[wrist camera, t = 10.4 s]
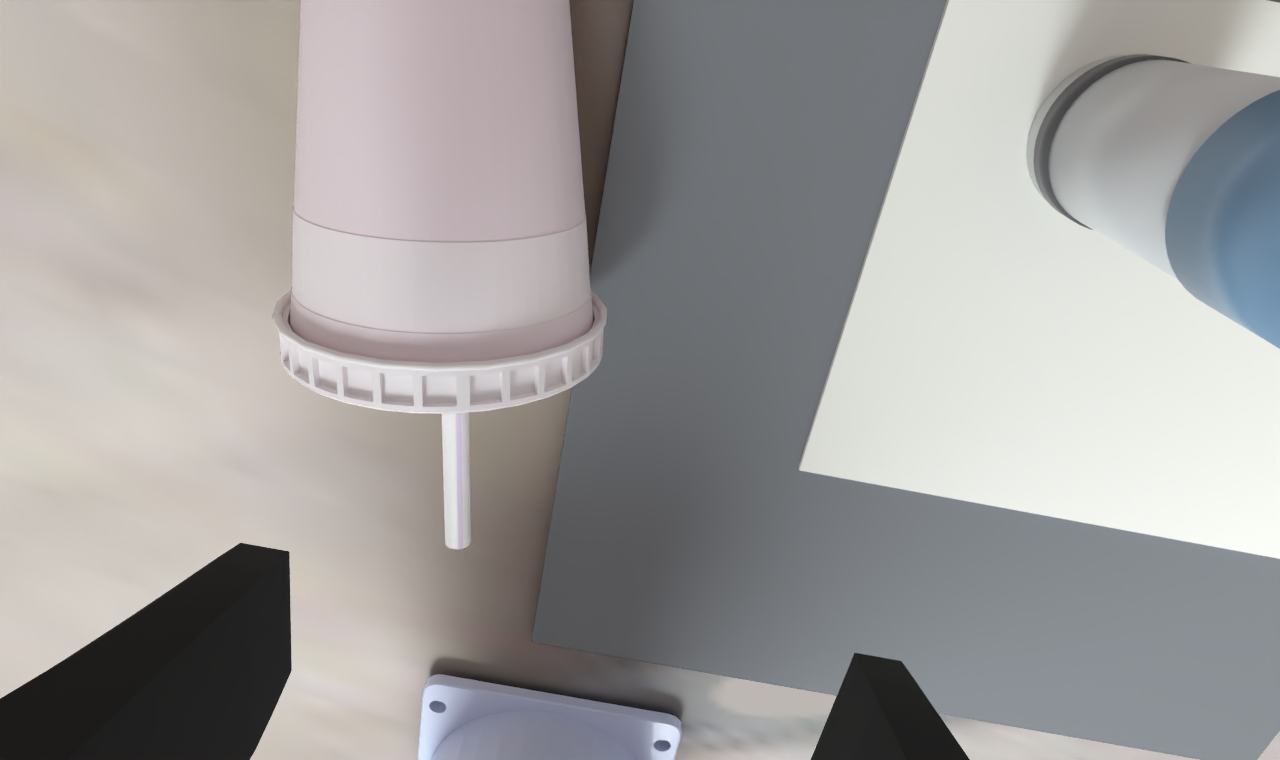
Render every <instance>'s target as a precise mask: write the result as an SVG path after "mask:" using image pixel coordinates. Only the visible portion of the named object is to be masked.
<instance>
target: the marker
mask: <svg viewBox="0 0 1280 760" xmlns="http://www.w3.org/2000/svg"><path fill="white" fill-rule="evenodd" d="M1026 157H1027V167H1028V171H1029V175H1030V178H1031V180H1032V183H1033V185H1034V186H1035V188H1036V190H1037V191H1038V193H1039V194H1040V195H1041V196H1042V197H1043V199H1045V200H1046V201H1047V202H1048V203H1049V204H1050V205H1051V206H1052V207H1053V208H1054V209H1055V210H1056V211H1058V212H1059V213H1061V214H1062V215H1064V216H1065V217H1067V218H1069V219H1070V220H1072V221H1074V222H1075V223H1077V224H1079V225H1081V226H1083V227H1086V228H1088V229H1091V230H1094V231H1096V232H1098V233H1099V234H1101V235H1103V236H1105V237H1106V238H1108V239H1110V240H1111V241H1113V242H1115V243H1116V244H1118V245H1120V246H1122V247H1123V248H1125V249H1127V250H1128V251H1130V252H1132V253H1134V254H1135V255H1137V256H1139V257H1140V258H1142V259H1144V260H1145V261H1147V262H1149V263H1151V264H1152V265H1154V266H1156V267H1157V268H1159V269H1161V270H1162V271H1164V272H1166V273H1168V274H1169V275H1171V276H1173V277H1174V278H1176V279H1178V280H1179V282H1180V283H1181V284H1182V285H1183V286H1184V288H1185V289H1186V290H1187V291H1188V292H1189V293H1190V294H1192V295H1193V296H1194V297H1195V298H1196V299H1198V300H1200V301H1201V302H1203V303H1205V304H1206V305H1208V306H1209V307H1211V308H1213V309H1214V310H1216V311H1218V312H1219V313H1221V314H1223V315H1224V316H1226V317H1228V318H1229V319H1231V320H1233V321H1234V322H1236V323H1238V324H1239V325H1241V326H1243V327H1244V328H1246V329H1248V330H1249V331H1251V332H1253V333H1254V334H1256V335H1258V336H1259V337H1261V338H1262V339H1264V340H1266V341H1267V342H1269V343H1271V344H1272V345H1274V346H1276V347H1277V348H1279V349H1280V77H1275V76H1269V75H1262V74H1256V73H1249V72H1243V71H1236V70H1229V69H1223V68H1216V67H1210V66H1203V65H1197V64H1191V63H1189V62H1186V61H1183V60H1180V59H1176V58H1171V57H1164V56H1157V55H1149V54H1134V55H1119V56H1113V57H1108V58H1104V59H1101V60H1098V61H1095V62H1093V63H1090V64H1088V65H1086V66H1084V67H1082V68H1081V69H1079V70H1077V71H1076V72H1074V73H1073V74H1071V75H1070V76H1069V77H1067V78H1066V79H1065V80H1064V81H1063V82H1061V83H1060V84H1059V85H1058V86H1057V87H1056V88H1055V89H1054V90H1053V91H1052V93H1051V94H1050V95H1049V96H1048V97H1047V99H1046V100H1045V101H1044V103H1043V104H1042V106H1041V108H1040V109H1039V111H1038V113H1037V115H1036V117H1035V119H1034V121H1033V124H1032V126H1031V130H1030V133H1029V137H1028V142H1027V153H1026Z"/></svg>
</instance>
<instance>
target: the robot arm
mask: <svg viewBox="0 0 1280 760" xmlns="http://www.w3.org/2000/svg"><path fill="white" fill-rule="evenodd" d="M290 673H291V622H290V569H289V552H288V551H283V550H277V549H271V548H266V547H260V546H255V545H249V544H243V543H240V544H238V545H237V546H235V547H234V548H232V549H230V550H229V551H227V552H226V553H224V554H223V555H221V556H220V557H218V558H217V559H215V560H214V561H212V562H211V563H209V564H208V565H206V566H205V567H203V568H202V569H200V570H199V571H197V572H196V573H194V574H193V575H191V576H190V577H189V578H187V579H186V580H184V581H183V582H181V583H180V584H178V585H177V586H175V587H174V588H172V589H171V590H169V591H168V592H167V593H165V594H164V595H162V596H161V597H159V598H158V599H156V600H155V601H153V602H152V603H150V604H149V605H147V606H146V607H144V608H143V609H141V610H140V611H138V612H137V613H135V614H134V615H132V616H131V617H129V618H128V619H126V620H125V621H123V622H122V623H120V624H119V625H117V626H116V627H114V628H113V629H111V630H109V631H108V632H106V633H105V634H103V635H102V636H100V637H99V638H97V639H96V640H94V641H93V642H91V643H90V644H88V645H86V646H85V647H83V648H82V649H80V650H79V651H77V652H76V653H74V654H73V655H71V656H70V657H68V658H66V659H65V660H63V661H62V662H60V663H59V664H57V665H55V666H54V667H52V668H51V669H49V670H47V671H46V672H44V673H42V674H41V675H39V676H37V677H36V678H34V679H32V680H31V681H29V682H27V683H26V684H24V685H22V686H21V687H19V688H17V689H16V690H14V691H12V692H11V693H9V694H7V695H6V696H4V697H2V698H1V699H0V760H250V758H251V756H252V755H253V753H254V751H255V749H256V747H257V745H258V743H259V741H260V739H261V737H262V735H263V732H264V730H265V728H266V726H267V724H268V722H269V720H270V718H271V715H272V713H273V711H274V709H275V707H276V704H277V702H278V700H279V698H280V695H281V693H282V691H283V688H284V686H285V684H286V682H287V679H288V677H289V675H290ZM438 701H440V702H443V703H440V702H438ZM680 739H681V722H680V720H679V719H678V718H677V717H675V716H674V715H671V714H667V713H661V712H655V711H650V710H644V709H638V708H632V707H627V706H621V705H615V704H609V703H604V702H598V701H592V700H586V699H581V698H575V697H569V696H563V695H558V694H552V693H546V692H540V691H535V690H529V689H523V688H517V687H512V686H506V685H500V684H494V683H489V682H483V681H477V680H471V679H466V678H460V677H454V676H448V675H439V674H437V675H433V676H431V677H430V678H428V679H427V682H426V684H425V687H424V690H423V697H422V709H421V721H420V733H419V746H418V758H417V760H674V759H675V756H676V752H677V749H678V746H679V742H680ZM661 740H666V741H661ZM811 760H970V759H969V758H968V757H967V755H966V754H965V752H964V751H963V749H962V748H961V746H960V745H959V744H958V742H957V741H956V739H955V738H954V736H953V735H952V734H951V732H950V731H949V729H948V728H947V726H946V725H945V723H944V722H943V720H942V719H941V717H940V716H939V715H938V713H937V712H936V710H935V709H934V707H933V706H932V704H931V703H930V701H929V700H928V698H927V697H926V695H925V694H924V693H923V691H922V690H921V688H920V687H919V685H918V684H917V682H916V681H915V679H914V678H913V677H912V675H911V674H910V672H909V671H908V669H907V668H906V667H905V665H904V664H903V662H902V661H899V660H893V659H888V658H882V657H877V656H871V655H865V654H860V653H854V655H853V658H852V660H851V663H850V665H849V667H848V670H847V672H846V675H845V677H844V680H843V682H842V685H841V687H840V690H839V692H838V695H837V697H836V699H835V702H834V704H833V707H832V709H831V712H830V714H829V717H828V719H827V722H826V724H825V726H824V729H823V731H822V734H821V736H820V739H819V741H818V744H817V746H816V749H815V751H814V753H813V756H812V758H811Z"/></svg>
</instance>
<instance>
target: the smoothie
mask: <svg viewBox="0 0 1280 760" xmlns="http://www.w3.org/2000/svg"><path fill="white" fill-rule="evenodd" d="M272 319H273V321H274V323H275V325H276V327H277V329H278V332H279V341H280V356H281V361H282V365H283V367H284V368H285V370H286V371H287V373H288V374H289V375H290V376H291V377H292V378H294V379H295V380H296V381H297V382H299V383H300V384H301V385H303V386H305V387H307V388H309V389H311V390H313V391H315V392H316V393H318V394H320V395H323V396H326V397H329V398H332V399H335V400H338V401H341V402H344V403H347V404H352V405H357V406H362V407H367V408H372V409H377V410H386V411H396V412H406V413H434V414H442V447H443V483H444V520H445V544H446V546H447V547H449V548H451V549H463V548H466V547H468V546H469V545H470V543H471V503H470V424H469V412H480V411H489V410H495V409H501V408H507V407H514V406H519V405H523V404H526V403H530V402H534V401H538V400H541V399H545V398H548V397H551V396H553V395H555V394H558V393H560V392H563V391H565V390H568V389H570V388H571V387H573V386H575V385H576V384H578V383H579V382H581V381H582V380H584V379H586V378H587V377H588V376H589V375H590V374H591V373H592V372H593V371H594V370H595V369H596V368H597V367H598V365H599V363H600V361H601V359H602V352H603V331H604V326H605V325H606V321H607V308H606V307H605V305H604V304H603V303H602V301H601V300H600V299H599V297H598V296H597V295H596V294H594V293H593V292H591V288H590V276H589V258H588V241H587V223H586V213H585V204H584V191H583V177H582V164H581V150H580V137H579V124H578V110H577V97H576V84H575V70H574V57H573V44H572V30H571V17H570V3H569V0H301V5H300V35H299V66H298V96H297V126H296V156H295V187H294V206H293V241H292V287H291V291H290V292H288V293H287V294H286V295H285V296H283V297H282V298H281V299H280V300H278V301H277V304H276V307H275V309H274V312H273V315H272Z"/></svg>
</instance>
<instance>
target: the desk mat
mask: <svg viewBox="0 0 1280 760" xmlns="http://www.w3.org/2000/svg"><path fill="white" fill-rule="evenodd" d="M946 1H947V0H634V3H633V9H632V16H631V22H630V28H629V34H628V41H627V47H626V53H625V59H624V66H623V72H622V78H621V84H620V91H619V97H618V103H617V109H616V116H615V122H614V128H613V135H612V141H611V147H610V153H609V160H608V166H607V172H606V178H605V185H604V191H603V197H602V203H601V210H600V216H599V222H598V228H597V235H596V241H595V247H594V253H593V260H592V266H591V272H590V288H591V292H593V293H594V294H596V295H597V296H598V297H599V299H600V300H601V301H602V303H603V304H604V305H605V307H606V308H607V321H606V325H605V326H604V331H603V352H602V359H601V361H600V363H599V365H598V367H597V368H596V369H595V370H594V371H593V372H592V373H591V374H590V375H589V376H588V377H587V378H586V379H584V380H582V381H581V382H579V383H578V384H576V385H575V386H573V387H572V391H571V398H570V404H569V410H568V416H567V423H566V429H565V435H564V441H563V448H562V454H561V460H560V466H559V473H558V479H557V485H556V491H555V498H554V504H553V510H552V516H551V523H550V529H549V535H548V542H547V548H546V554H545V560H544V567H543V573H542V579H541V585H540V592H539V598H538V604H537V610H536V617H535V623H534V629H533V635H532V642H534V643H540V644H546V645H551V646H557V647H563V648H568V649H574V650H580V651H586V652H591V653H597V654H603V655H608V656H614V657H620V658H625V659H631V660H637V661H642V662H648V663H654V664H660V665H665V666H671V667H677V668H682V669H688V670H694V671H699V672H705V673H711V674H716V675H722V676H728V677H734V678H739V679H745V680H751V681H756V682H762V683H768V684H774V685H779V686H785V687H790V688H796V689H802V690H808V691H813V692H819V693H825V694H831V695H836V696H837V695H838V692H839V690H840V687H841V685H842V682H843V680H844V677H845V675H846V672H847V670H848V667H849V665H850V663H851V660H852V658H853V655H854V653H860V654H865V655H871V656H877V657H882V658H888V659H893V660H899V661H902V662H903V664H904V665H905V667H906V668H907V669H908V671H909V672H910V674H911V675H912V677H913V678H914V679H915V681H916V682H917V684H918V685H919V687H920V688H921V690H922V691H923V693H924V694H925V695H926V697H927V698H928V700H929V701H930V703H931V704H932V706H933V707H934V709H935V710H936V712H937V713H938V714H944V715H950V716H955V717H961V718H967V719H973V720H978V721H984V722H990V723H995V724H1001V725H1007V726H1012V727H1018V728H1024V729H1029V730H1035V731H1041V732H1047V733H1052V734H1058V735H1064V736H1069V737H1075V738H1081V739H1086V740H1092V741H1098V742H1103V743H1109V744H1115V745H1121V746H1126V747H1132V748H1138V749H1143V750H1149V751H1155V752H1160V753H1166V754H1172V755H1177V756H1183V757H1189V758H1195V759H1200V760H1257V759H1258V758H1259V757H1260V755H1261V754H1262V753H1263V751H1264V750H1265V749H1266V747H1267V746H1268V745H1269V744H1270V742H1271V741H1272V740H1273V738H1274V737H1275V736H1276V735H1277V733H1278V732H1279V731H1280V559H1278V558H1273V557H1267V556H1262V555H1256V554H1251V553H1246V552H1240V551H1235V550H1229V549H1224V548H1218V547H1213V546H1207V545H1202V544H1197V543H1191V542H1186V541H1180V540H1175V539H1169V538H1164V537H1159V536H1153V535H1148V534H1142V533H1137V532H1131V531H1126V530H1120V529H1115V528H1110V527H1104V526H1099V525H1093V524H1088V523H1082V522H1077V521H1072V520H1066V519H1061V518H1055V517H1050V516H1044V515H1039V514H1033V513H1028V512H1023V511H1017V510H1012V509H1006V508H1001V507H995V506H990V505H985V504H979V503H974V502H968V501H963V500H957V499H952V498H946V497H941V496H936V495H930V494H925V493H919V492H914V491H908V490H903V489H898V488H892V487H887V486H881V485H876V484H870V483H865V482H859V481H854V480H849V479H843V478H838V477H832V476H827V475H821V474H816V473H811V472H805V471H800V470H799V468H798V466H799V463H800V460H801V457H802V454H803V451H804V447H805V444H806V441H807V438H808V435H809V432H810V429H811V425H812V422H813V419H814V416H815V413H816V410H817V407H818V403H819V400H820V397H821V394H822V391H823V388H824V385H825V381H826V378H827V375H828V372H829V369H830V366H831V363H832V359H833V356H834V353H835V350H836V347H837V344H838V341H839V338H840V334H841V331H842V328H843V325H844V322H845V319H846V316H847V312H848V309H849V306H850V303H851V300H852V297H853V294H854V290H855V287H856V284H857V281H858V278H859V275H860V272H861V268H862V265H863V262H864V259H865V256H866V253H867V250H868V246H869V243H870V240H871V237H872V234H873V231H874V228H875V224H876V221H877V218H878V215H879V212H880V209H881V206H882V202H883V199H884V196H885V193H886V190H887V187H888V184H889V180H890V177H891V174H892V171H893V168H894V165H895V162H896V158H897V155H898V152H899V149H900V146H901V143H902V140H903V136H904V133H905V130H906V127H907V124H908V121H909V118H910V114H911V111H912V108H913V105H914V102H915V99H916V96H917V92H918V89H919V86H920V83H921V80H922V77H923V74H924V70H925V67H926V64H927V61H928V58H929V55H930V52H931V48H932V45H933V42H934V39H935V36H936V33H937V30H938V26H939V23H940V20H941V17H942V14H943V11H944V8H945V4H946ZM1269 1H1273V2H1278V3H1280V0H1269Z"/></svg>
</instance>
